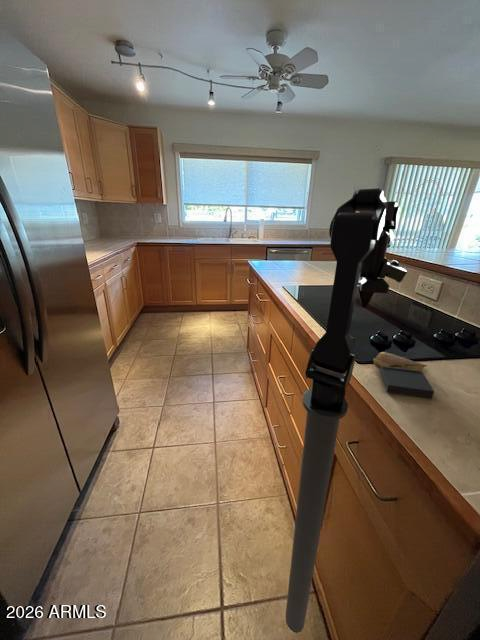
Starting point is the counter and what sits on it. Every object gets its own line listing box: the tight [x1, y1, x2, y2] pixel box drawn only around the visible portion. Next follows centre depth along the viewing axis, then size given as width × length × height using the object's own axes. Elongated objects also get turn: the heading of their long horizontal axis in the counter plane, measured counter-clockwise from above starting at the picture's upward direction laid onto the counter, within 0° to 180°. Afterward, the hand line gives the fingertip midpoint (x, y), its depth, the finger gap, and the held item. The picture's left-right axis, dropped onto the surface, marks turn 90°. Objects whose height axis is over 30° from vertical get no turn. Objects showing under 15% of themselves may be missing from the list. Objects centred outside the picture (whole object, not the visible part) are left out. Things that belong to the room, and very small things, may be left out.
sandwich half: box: [373, 351, 428, 370], centre depth 68 cm, size 11×8×2 cm
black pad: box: [379, 366, 435, 400], centre depth 62 cm, size 9×8×2 cm
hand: (364, 307), depth 76 cm, fingers closed
